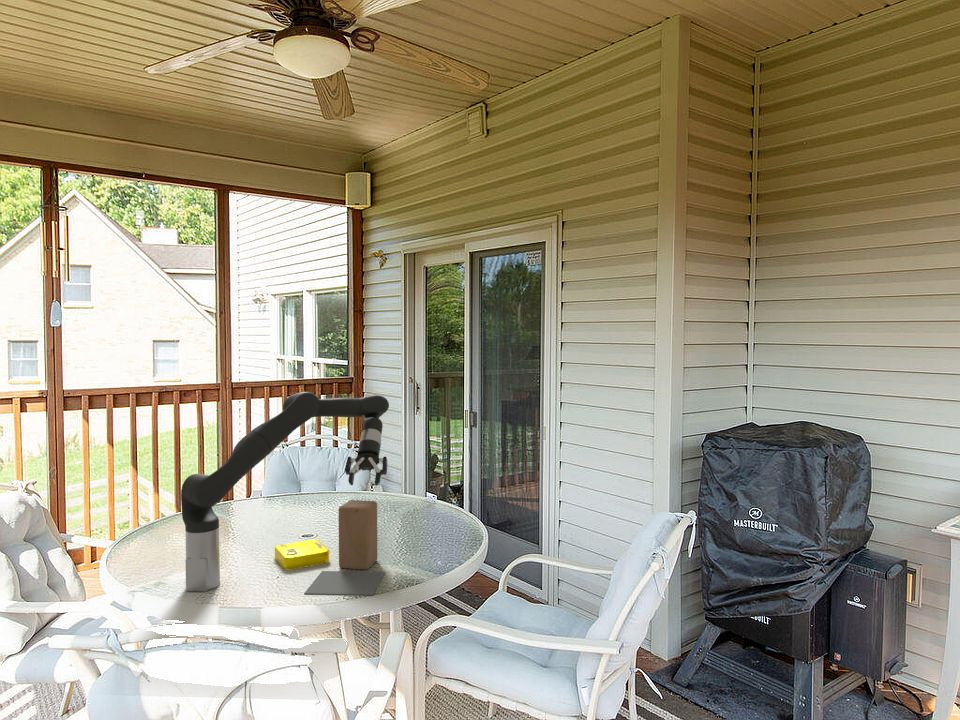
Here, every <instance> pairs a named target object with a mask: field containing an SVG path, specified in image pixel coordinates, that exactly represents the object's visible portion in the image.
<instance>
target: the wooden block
mask: <svg viewBox="0 0 960 720" xmlns="http://www.w3.org/2000/svg"><path fill="white" fill-rule="evenodd" d="M337 512H338V566H339V568H340V569H347V568H348V569H350V570H361V569H362V571H366V569H367V570H369V569H370V568H371V566H373V565H374V563H376V562H377V560H378V503H377V502H376V501H372V500H355V499H351V500H348V501H347V502H346V503H344V504H342V505H340V506H339V507H338V511H337Z"/></svg>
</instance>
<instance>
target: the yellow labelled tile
mask: <svg viewBox="0 0 960 720" xmlns="http://www.w3.org/2000/svg"><path fill="white" fill-rule="evenodd" d="M275 559H276V560H277V561H276V560H275ZM274 560H275V561H276V562H277V563H278V564H279V566H280V565H281V566H282V567H281V566H280V567H281V568H282V569H283V570H285V569H292V570H296V569H295V568H297V569H301V568H300V567H303V568H306V567H305V566H308V567H312V566H311V565H314V566H318V565H317V564H320V565H322V564H321V563H325V564H327V563H326V562H328V563H329V562H330V549H329V548H328V547H327V546H326V545H324V544H323V543H322V542H321V541H320V540H318V539H307V540H304V541H303V540H302V541H297V542H291V543H285V544H284V543H282V544H278V545H276V546H274Z"/></svg>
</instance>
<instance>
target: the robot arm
mask: <svg viewBox="0 0 960 720" xmlns="http://www.w3.org/2000/svg"><path fill="white" fill-rule="evenodd" d="M389 403H390V402H389V400H388V399H387V398H386V397H385V396H382V395H378V394H377V395H376V394H374V395H369V396H364V397H336V398H335V397H334V398H318V396H317V395H316V394H315V393H313V392H311V391H310V392H309V391H302V392H298V393H297V392H296V393H294V394H291V395H289V396H287V397H286V399H285V400H284V402H283V405H282V411H281V412H280V413H279V414H277V415H275V416H274V417H272V418H269V419H268V420H266V421H265V422H262V423H261V424H259V425H257V426H256V427H255V428H253V429H251V430H250V431H249V432H248V433H247V434H246V435H245V436H243V437H242V438H241V439H239V441H238V442H237V443H236V445H235V446H234V448H233V450H232V452H231V454H230V456H229V457H228V459H227V460H226V462H225V463H224V464H223V465H221V466H219V468H218V469H217V470H215V471H214V472H212V473H211V474H209V475H208V474H204V473H194V474H190V475H189V476H188V477H187V478H185V479H184V481H183V483H182V486H181V490H180V503H181V504H180V505H181V517H182V518H181V519H182V520H183V523H184V527H185V531H184V532H185V591H186V592H208V591H210V590H213V589H215V588H217V587H219V586H220V585H221V571H220V567H221V566H220V565H221V563H220V561H221V560H220V558H221V557H220V555H221V553H220V518H219V517H218V516H217V514H216V513H215V512H214V509H213V507H214V506H215V505H217V504H218V503H220V502H221V501H222V500H223V499H224V497H225V496H226V495H227V494H228V493H229V492H230V491H231V490H232V489H233V488H234V487H235V485H236V484H237V483H238V482H239V481H240V480H241V479H242V478H243V477H245V476H246V475H247V474H248V473H249V472H251V471H252V470H253V469H254V468H255V467H256V466H257V465H258V464H260V463H261V462H262V461H263V460H264V459H265V458H266V457H267V456H269V455H270V454H271V453H272V452H273V451H274V450H275V449H277V447H278V446H280V444H282V442H284V440H286V439H287V437H289V435H291V434H292V433H293V432H294V431H296V429H298V428H299V427H300V426H302V425H303V424H305V423H306V422H308V421H309V420H311V419H312V418H319V417H325V418H326V417H327V418H328V417H329V418H330V417H331V418H332V417H333V418H335V417H336V418H360V417H362V422H363V423H362V425H363V426H362V429H361V430H362V431H361V435H360V438H359V444H358V450H357V455H356V457H351V456H347V458H346V463H345V466H344V467H345V468H344V473H345V475H347V476H348V483H349V485H350V486H353V485H354V480H355V475H356V474H357V473H360V472H361V471H374V473H375V477H374V485H375V486H379V484H380V483H381V477H382V476H383V475H384V476H386V475H388V459H387V456H383V457H380V454H381V453H380V452H381V446H382V433H383V428H384V427H383V421H382V420H381V419H380V417H382V416H383V415H384V414H385V413H387V411H388V410H389V408H390V404H389ZM354 463H355V464H354ZM380 463H381V465H382V469H381V468H379V466H378V465H379V464H380ZM352 466H353V467H352Z"/></svg>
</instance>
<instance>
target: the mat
mask: <svg viewBox="0 0 960 720" xmlns="http://www.w3.org/2000/svg"><path fill="white" fill-rule="evenodd" d="M384 573H385V574H386V571H361V570H360V571H353V570H352V571H350V570H348V571H347V570H346V571H345V570H339V571H338V570H322V571H320V573H319V574H318V575H317V577H316V578H315V579H314V580H313V581H312V583H311V584H310V586H309V587H308V588H307V589H306V590H305V592H304V593H303V594H304V595H317V596H318V595H323V596H324V595H327V596H328V595H330V596H331V595H332V596H334V595H335V596H374V595H375V593H376V591H377V589H378V587H379V586H380V583H381V581H382V579H383V578H384V576H385V574H384ZM383 575H384V576H383ZM382 577H383V578H382Z"/></svg>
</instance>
